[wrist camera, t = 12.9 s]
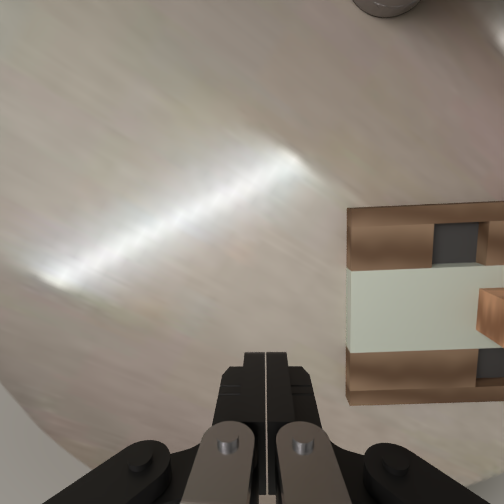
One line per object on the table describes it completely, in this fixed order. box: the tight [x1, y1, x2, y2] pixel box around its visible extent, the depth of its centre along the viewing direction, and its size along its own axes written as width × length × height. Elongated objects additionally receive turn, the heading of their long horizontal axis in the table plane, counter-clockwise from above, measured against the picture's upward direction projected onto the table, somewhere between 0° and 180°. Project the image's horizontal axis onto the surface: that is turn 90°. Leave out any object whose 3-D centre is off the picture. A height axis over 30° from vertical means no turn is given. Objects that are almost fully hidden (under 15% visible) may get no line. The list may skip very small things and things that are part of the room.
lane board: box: [346, 201, 504, 406], centre depth 39 cm, size 24×28×4 cm
